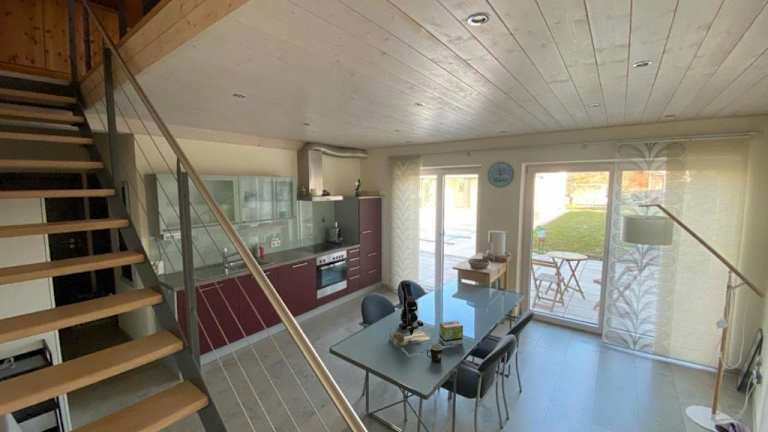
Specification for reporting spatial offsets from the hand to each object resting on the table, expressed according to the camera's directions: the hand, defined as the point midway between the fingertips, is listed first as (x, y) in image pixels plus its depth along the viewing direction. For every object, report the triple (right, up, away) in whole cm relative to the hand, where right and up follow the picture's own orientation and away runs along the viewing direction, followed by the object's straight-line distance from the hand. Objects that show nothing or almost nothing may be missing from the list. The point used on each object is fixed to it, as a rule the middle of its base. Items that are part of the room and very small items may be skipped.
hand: (411, 335), depth 251 cm
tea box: (+30, -4, -4) cm, 31 cm away
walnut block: (-10, -3, -4) cm, 11 cm away
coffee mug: (+13, -7, -29) cm, 33 cm away
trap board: (-1, -4, 0) cm, 4 cm away
